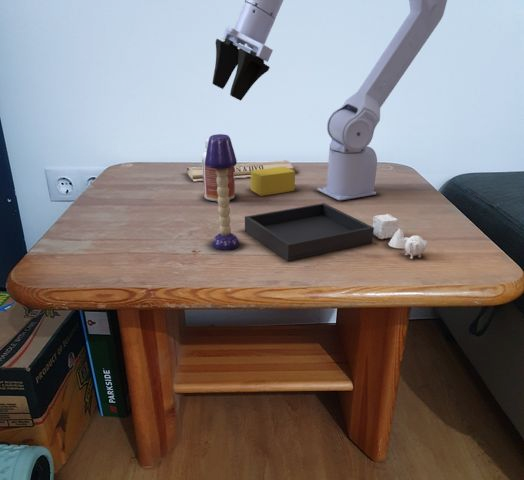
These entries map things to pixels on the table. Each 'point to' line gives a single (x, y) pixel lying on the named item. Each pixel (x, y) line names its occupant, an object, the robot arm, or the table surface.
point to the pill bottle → (211, 177)
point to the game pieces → (397, 235)
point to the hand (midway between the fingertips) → (226, 92)
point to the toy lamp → (222, 186)
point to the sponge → (272, 180)
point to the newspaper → (240, 169)
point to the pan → (308, 231)
